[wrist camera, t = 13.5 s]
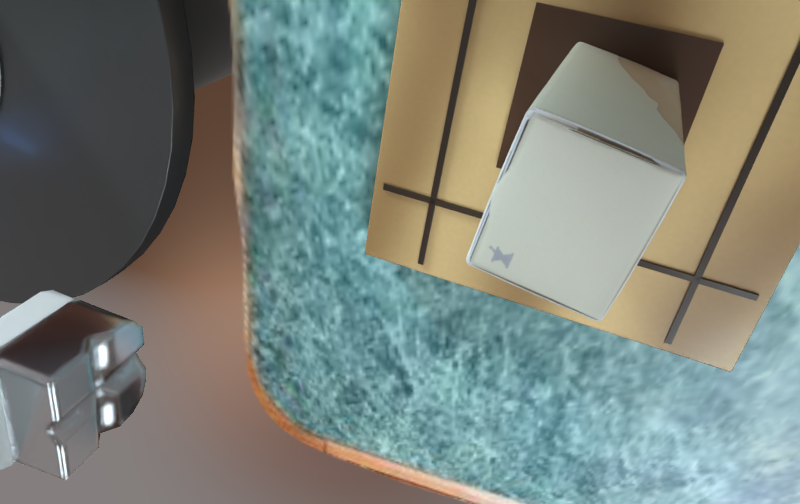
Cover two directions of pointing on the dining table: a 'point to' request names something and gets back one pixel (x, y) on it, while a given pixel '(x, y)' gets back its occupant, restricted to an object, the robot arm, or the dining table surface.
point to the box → (585, 182)
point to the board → (702, 135)
